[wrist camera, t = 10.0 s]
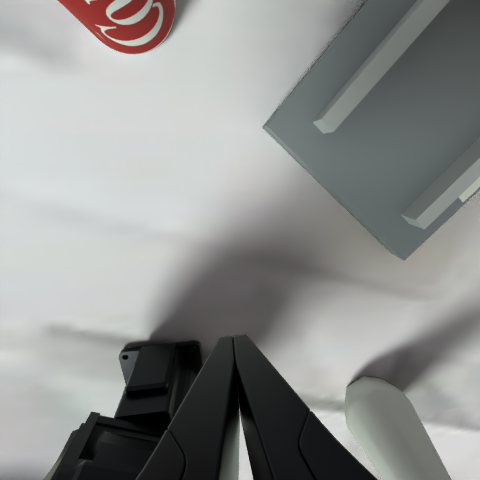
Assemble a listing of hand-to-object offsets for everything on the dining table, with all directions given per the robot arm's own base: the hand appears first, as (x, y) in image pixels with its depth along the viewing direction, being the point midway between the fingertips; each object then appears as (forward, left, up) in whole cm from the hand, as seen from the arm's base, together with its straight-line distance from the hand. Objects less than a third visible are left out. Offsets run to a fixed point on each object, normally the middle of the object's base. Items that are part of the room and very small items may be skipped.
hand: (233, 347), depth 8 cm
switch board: (+10, -16, -12) cm, 22 cm away
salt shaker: (-17, -12, -12) cm, 24 cm away
